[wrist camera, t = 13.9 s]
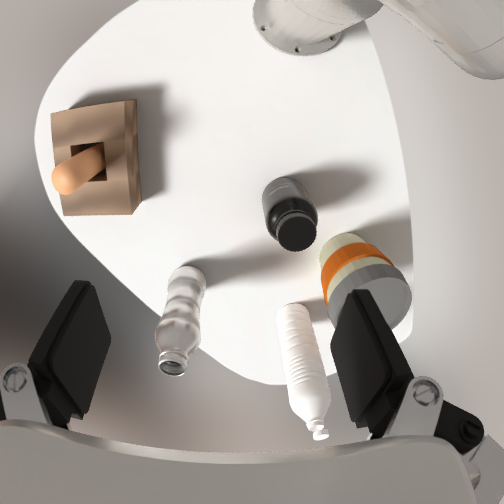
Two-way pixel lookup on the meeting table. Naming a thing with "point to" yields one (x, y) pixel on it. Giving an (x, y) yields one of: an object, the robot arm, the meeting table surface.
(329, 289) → the reusable coffee cup
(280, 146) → the meeting table surface
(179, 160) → the meeting table surface
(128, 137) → the socket block
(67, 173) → the peg
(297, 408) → the water bottle
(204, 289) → the plastic bottle
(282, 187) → the supplement bottle
